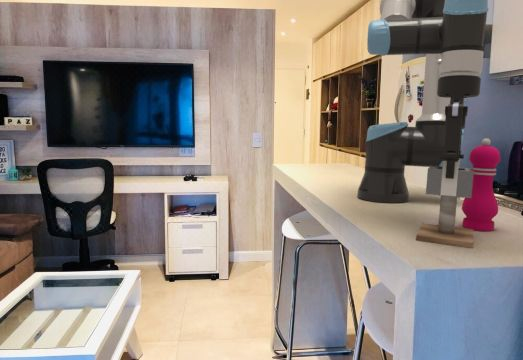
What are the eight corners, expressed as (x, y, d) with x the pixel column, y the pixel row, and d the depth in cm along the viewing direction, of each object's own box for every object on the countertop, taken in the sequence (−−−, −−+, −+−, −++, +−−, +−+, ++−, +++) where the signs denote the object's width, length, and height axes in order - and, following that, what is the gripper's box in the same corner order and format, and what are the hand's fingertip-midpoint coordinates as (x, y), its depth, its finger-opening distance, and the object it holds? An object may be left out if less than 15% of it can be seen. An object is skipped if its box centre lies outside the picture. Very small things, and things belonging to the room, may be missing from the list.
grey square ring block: (429, 189, 90) (431, 165, 89) (471, 192, 86) (473, 168, 86) (425, 194, 83) (427, 168, 82) (471, 198, 79) (473, 171, 78)
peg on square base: (422, 227, 93) (425, 187, 92) (472, 233, 89) (476, 191, 88) (415, 240, 82) (419, 194, 81) (472, 248, 78) (477, 200, 77)
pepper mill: (501, 233, 90) (510, 139, 88) (464, 230, 92) (473, 138, 89) (490, 225, 97) (498, 138, 95) (456, 223, 99) (464, 137, 96)
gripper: (441, 82, 92) (433, 184, 95) (434, 69, 74) (424, 197, 77) (480, 81, 89) (470, 187, 92) (482, 68, 71) (469, 202, 73)
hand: (449, 192), depth 84 cm, fingers closed on grey square ring block, 8 cm apart
